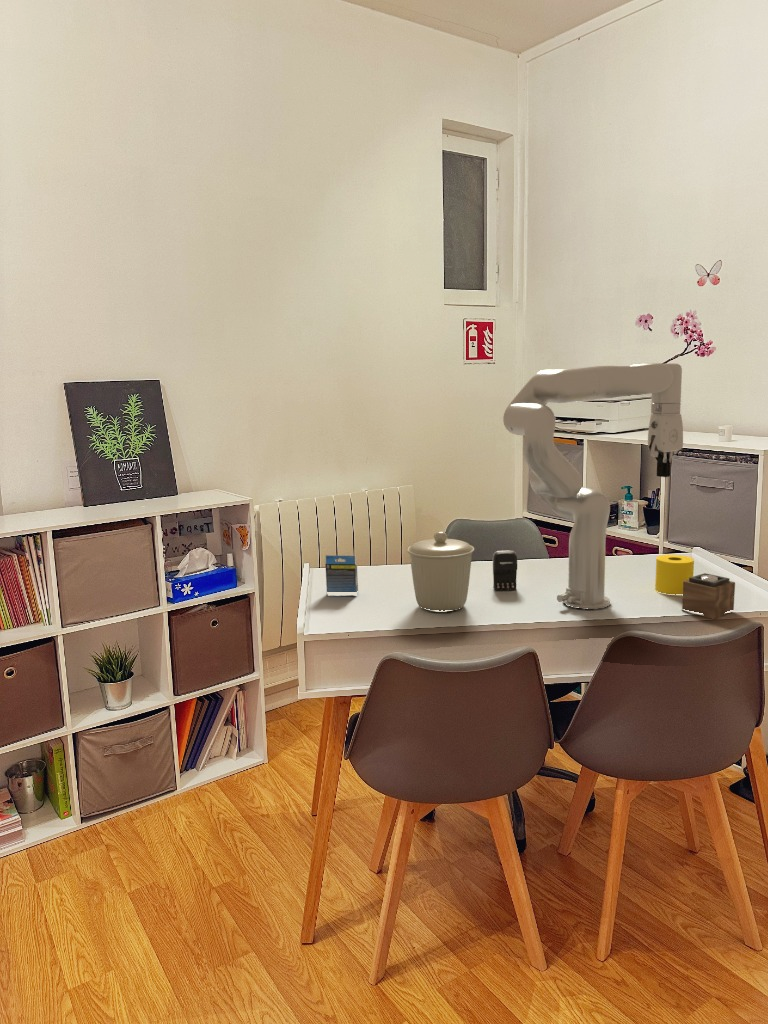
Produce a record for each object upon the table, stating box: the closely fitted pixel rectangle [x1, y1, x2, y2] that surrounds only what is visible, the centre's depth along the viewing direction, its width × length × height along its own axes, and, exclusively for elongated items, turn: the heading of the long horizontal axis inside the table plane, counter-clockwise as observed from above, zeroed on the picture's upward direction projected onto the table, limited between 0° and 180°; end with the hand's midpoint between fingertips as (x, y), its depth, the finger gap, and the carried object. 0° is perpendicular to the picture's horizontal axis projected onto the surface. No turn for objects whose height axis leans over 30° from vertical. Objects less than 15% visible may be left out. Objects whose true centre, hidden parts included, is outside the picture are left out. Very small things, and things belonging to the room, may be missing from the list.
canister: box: [406, 531, 475, 611], centre depth 215 cm, size 18×18×21 cm
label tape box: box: [325, 554, 359, 593], centre depth 231 cm, size 9×4×12 cm, turn 83°
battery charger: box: [492, 550, 518, 591], centre depth 231 cm, size 7×4×11 cm, turn 89°
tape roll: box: [654, 554, 695, 595], centre depth 226 cm, size 10×10×9 cm
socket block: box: [681, 572, 736, 620], centre depth 207 cm, size 9×9×9 cm
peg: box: [701, 574, 718, 582], centre depth 207 cm, size 4×4×8 cm
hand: (663, 476), depth 220 cm, fingers closed
